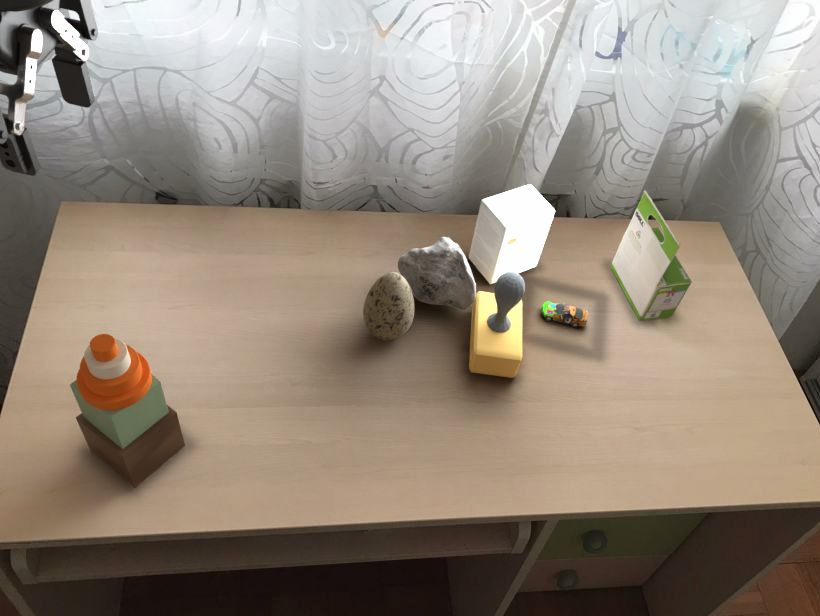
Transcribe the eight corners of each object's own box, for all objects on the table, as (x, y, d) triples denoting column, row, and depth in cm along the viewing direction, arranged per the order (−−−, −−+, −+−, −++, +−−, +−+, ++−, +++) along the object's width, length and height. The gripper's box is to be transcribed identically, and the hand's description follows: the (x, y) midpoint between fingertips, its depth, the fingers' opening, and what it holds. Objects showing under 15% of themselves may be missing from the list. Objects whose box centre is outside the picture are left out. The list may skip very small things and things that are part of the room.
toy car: (541, 304, 97) (544, 295, 96) (586, 315, 98) (590, 306, 96) (539, 319, 96) (542, 310, 94) (584, 330, 96) (588, 321, 94)
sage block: (122, 449, 69) (110, 418, 65) (83, 417, 70) (69, 384, 66) (169, 412, 72) (160, 380, 68) (130, 381, 73) (119, 348, 69)
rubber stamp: (471, 309, 95) (489, 241, 86) (516, 315, 96) (538, 249, 86) (468, 371, 89) (487, 306, 80) (516, 378, 89) (540, 314, 80)
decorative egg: (377, 305, 93) (384, 248, 85) (419, 327, 92) (429, 271, 84) (351, 336, 89) (356, 280, 82) (394, 359, 88) (403, 304, 80)
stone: (398, 321, 92) (406, 265, 84) (392, 280, 96) (399, 223, 88) (471, 319, 94) (486, 264, 86) (462, 279, 98) (476, 223, 90)
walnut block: (134, 488, 74) (122, 456, 69) (90, 451, 75) (75, 417, 70) (185, 445, 77) (177, 412, 72) (142, 410, 79) (131, 375, 74)
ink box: (672, 318, 100) (717, 243, 89) (638, 323, 98) (679, 247, 87) (641, 262, 106) (679, 185, 95) (607, 266, 104) (642, 188, 93)
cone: (111, 422, 65) (96, 384, 60) (64, 384, 66) (46, 344, 62) (166, 380, 68) (156, 341, 63) (121, 344, 70) (108, 304, 65)
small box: (514, 241, 104) (531, 182, 96) (537, 267, 102) (557, 209, 93) (466, 257, 101) (480, 198, 92) (489, 285, 98) (505, 227, 90)
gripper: (-18, -153, 48) (50, 73, 60) (-168, -59, 39) (-52, 184, 51) (99, -126, 48) (142, 94, 61) (-24, -26, 39) (57, 208, 52)
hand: (53, 135), depth 56 cm, fingers open, 8 cm apart
